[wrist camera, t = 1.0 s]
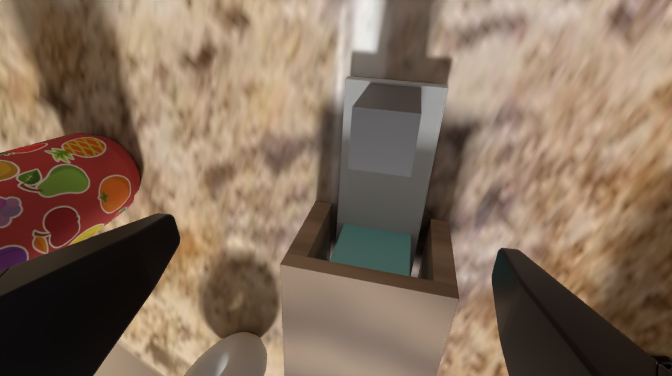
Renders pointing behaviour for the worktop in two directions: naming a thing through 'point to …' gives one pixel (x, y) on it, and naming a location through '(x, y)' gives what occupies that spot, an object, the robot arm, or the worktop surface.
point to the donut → (232, 357)
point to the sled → (385, 170)
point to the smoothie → (61, 193)
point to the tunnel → (364, 308)
